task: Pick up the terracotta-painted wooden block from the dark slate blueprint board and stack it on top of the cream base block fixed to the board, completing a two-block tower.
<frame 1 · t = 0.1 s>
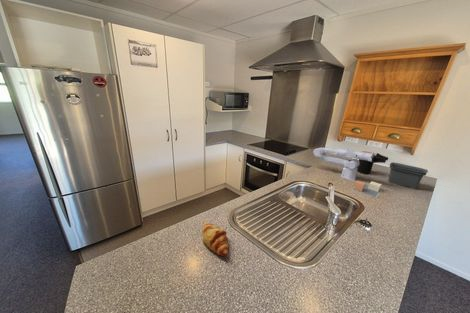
hand: (386, 160, 129), 22 cm above the worktop, tool horizontal, fingers open, 7 cm apart
terracotta block: (358, 189, 131), point 1 cm above the worktop, touching blueprint board
coffee jar: (362, 172, 164), on the worktop
storage bin: (401, 183, 145), on the worktop
croissant: (215, 241, 79), on the worktop
blueprint board: (366, 190, 131), on the worktop
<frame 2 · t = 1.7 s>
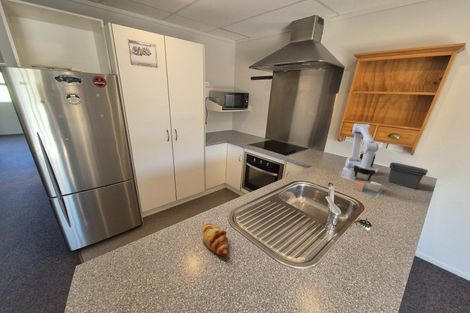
hand: (361, 178, 128), 9 cm above the worktop, tool pointing down, fingers open, 7 cm apart
nothing on the worktop moved.
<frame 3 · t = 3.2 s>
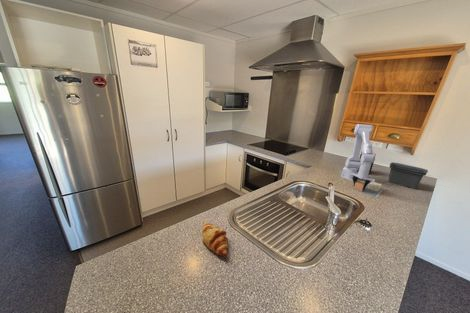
hand: (359, 188, 130), 2 cm above the worktop, tool pointing down, fingers closed on terracotta block, 5 cm apart
terracotta block: (358, 189, 131), point 1 cm above the worktop, touching blueprint board, gripper
everything else where it was.
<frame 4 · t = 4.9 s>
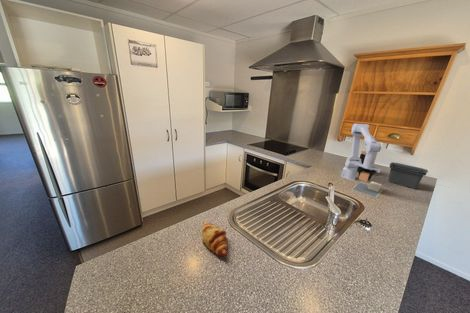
hand: (364, 178, 128), 9 cm above the worktop, tool pointing down, fingers closed on terracotta block, 5 cm apart
terracotta block: (363, 179, 129), point 8 cm above the worktop, touching gripper
everything else where it was.
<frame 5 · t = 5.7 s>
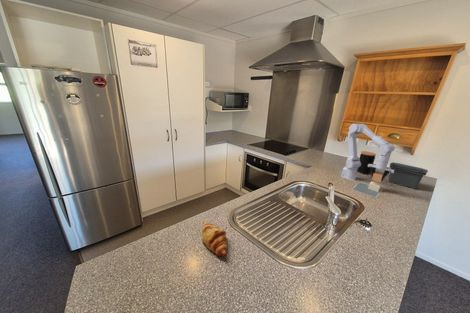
hand: (377, 179, 130), 8 cm above the worktop, tool pointing down, fingers closed on terracotta block, 5 cm apart
terracotta block: (376, 180, 130), point 7 cm above the worktop, touching gripper
everything else where it was.
when the fingers open (7 cm above the worktop, at t = 6.5 s): terracotta block stays where it is, resting on blueprint board.
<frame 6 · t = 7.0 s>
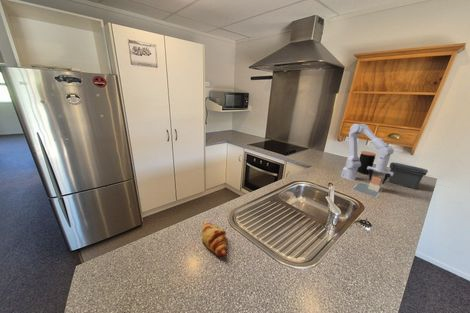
hand: (376, 181, 130), 7 cm above the worktop, tool pointing down, fingers open, 7 cm apart
terracotta block: (375, 183, 131), point 5 cm above the worktop, touching blueprint board
everything else where it was.
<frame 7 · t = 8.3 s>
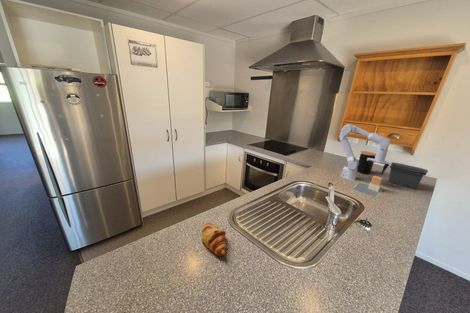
hand: (375, 172, 137), 10 cm above the worktop, tool pointing down, fingers open, 7 cm apart
nothing on the worktop moved.
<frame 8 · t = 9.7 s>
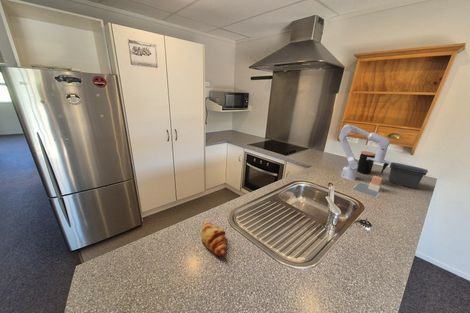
hand: (375, 171, 139), 10 cm above the worktop, tool pointing down, fingers open, 7 cm apart
nothing on the worktop moved.
at the end: terracotta block 0.1 cm from the target spot on the blueprint board, point 4.6 cm above the blueprint board's base; terracotta block tilted 0°; the gripper is holding nothing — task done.
